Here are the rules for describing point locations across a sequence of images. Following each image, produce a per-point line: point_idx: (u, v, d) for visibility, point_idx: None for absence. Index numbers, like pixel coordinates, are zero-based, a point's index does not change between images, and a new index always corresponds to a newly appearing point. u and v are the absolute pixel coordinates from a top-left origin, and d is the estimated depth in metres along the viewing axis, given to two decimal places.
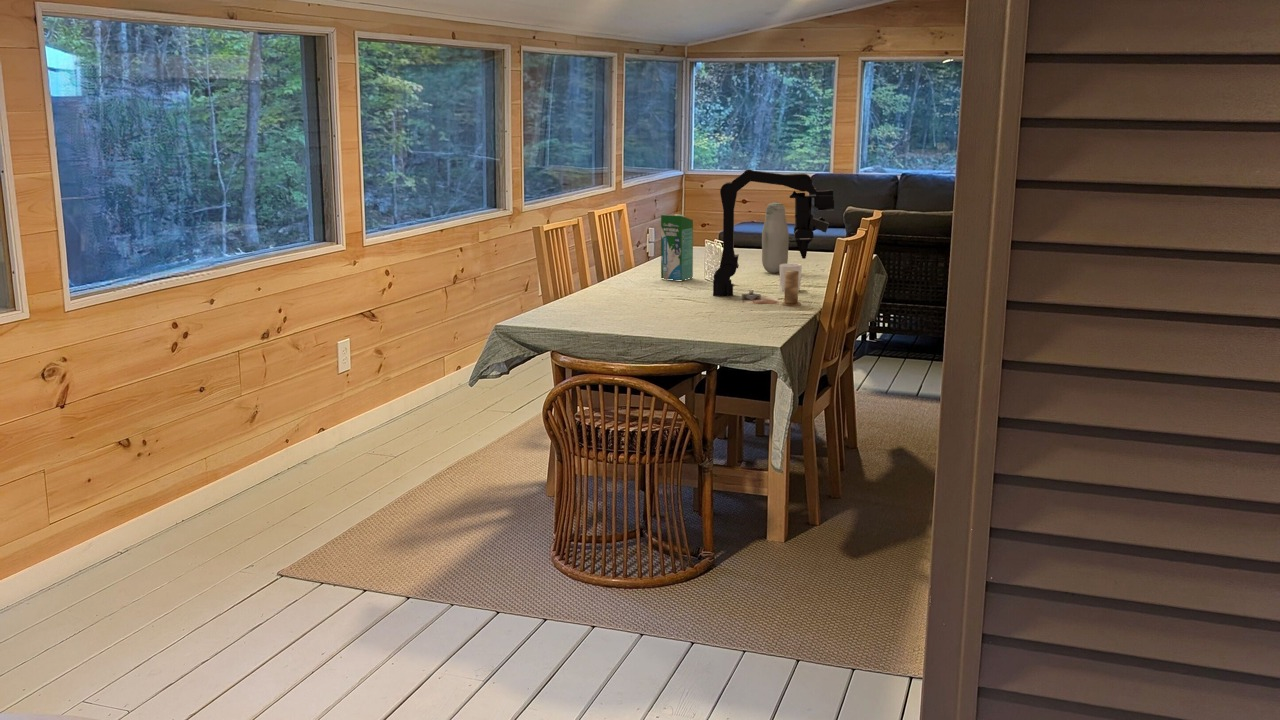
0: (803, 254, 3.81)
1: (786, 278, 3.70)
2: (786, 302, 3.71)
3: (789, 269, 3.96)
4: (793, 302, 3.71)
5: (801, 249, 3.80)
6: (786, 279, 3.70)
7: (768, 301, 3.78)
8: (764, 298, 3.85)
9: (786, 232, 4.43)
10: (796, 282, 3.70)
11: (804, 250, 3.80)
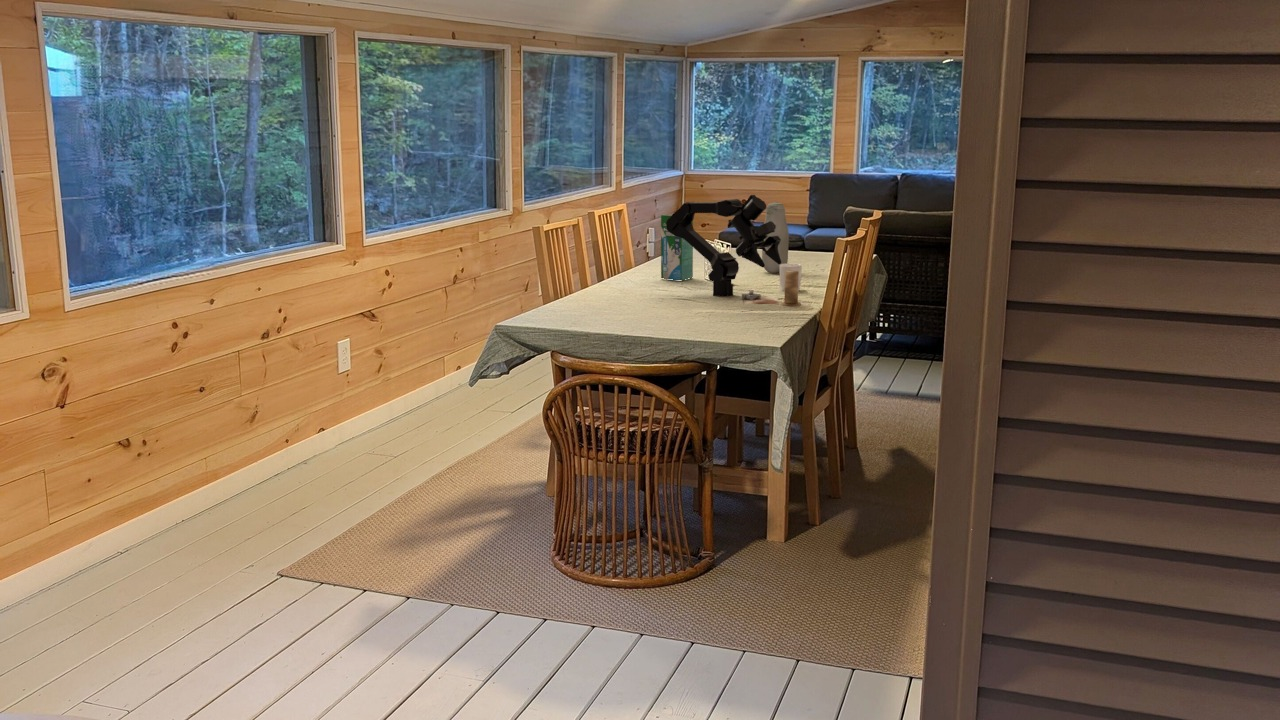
0: (760, 263, 3.72)
1: (786, 278, 3.70)
2: (786, 302, 3.71)
3: (789, 269, 3.96)
4: (793, 302, 3.71)
5: (755, 261, 3.73)
6: (786, 279, 3.70)
7: (768, 301, 3.78)
8: (764, 298, 3.85)
9: (786, 232, 4.43)
10: (796, 282, 3.70)
11: (757, 259, 3.72)
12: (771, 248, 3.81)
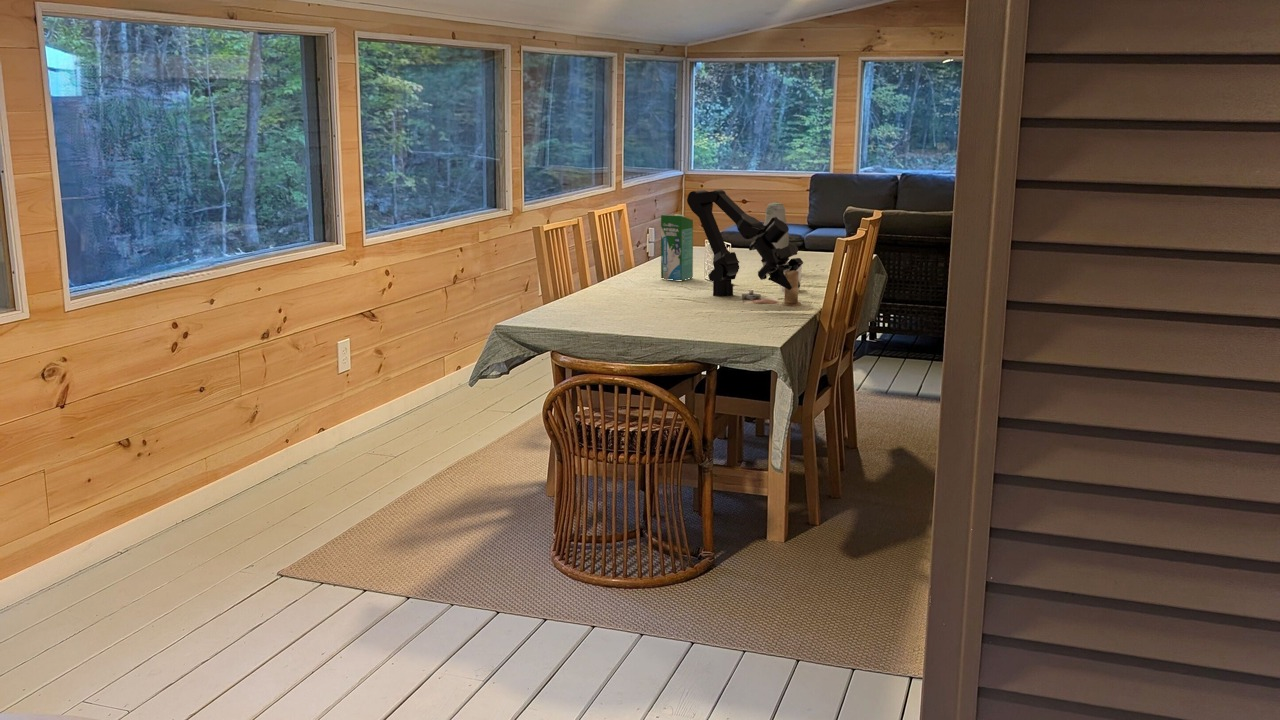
0: (786, 286, 3.69)
1: None
2: (786, 302, 3.71)
3: None
4: (793, 302, 3.71)
5: (781, 284, 3.70)
6: None
7: (768, 301, 3.78)
8: (764, 298, 3.85)
9: None
10: (796, 282, 3.70)
11: (784, 282, 3.69)
12: None
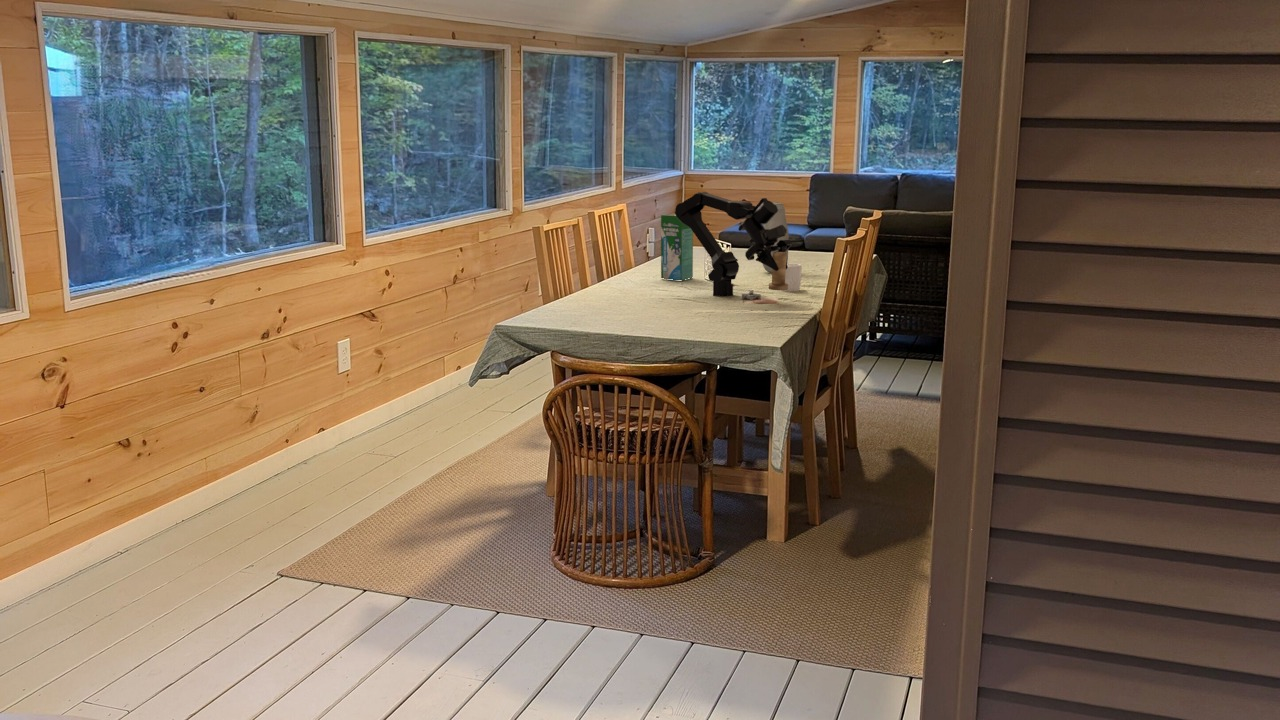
0: (773, 267, 3.71)
1: (774, 259, 3.71)
2: (773, 283, 3.73)
3: (789, 269, 3.96)
4: (780, 283, 3.72)
5: (768, 265, 3.71)
6: (774, 260, 3.71)
7: (768, 301, 3.78)
8: (764, 298, 3.85)
9: (786, 232, 4.43)
10: (783, 263, 3.71)
11: (771, 263, 3.70)
12: None
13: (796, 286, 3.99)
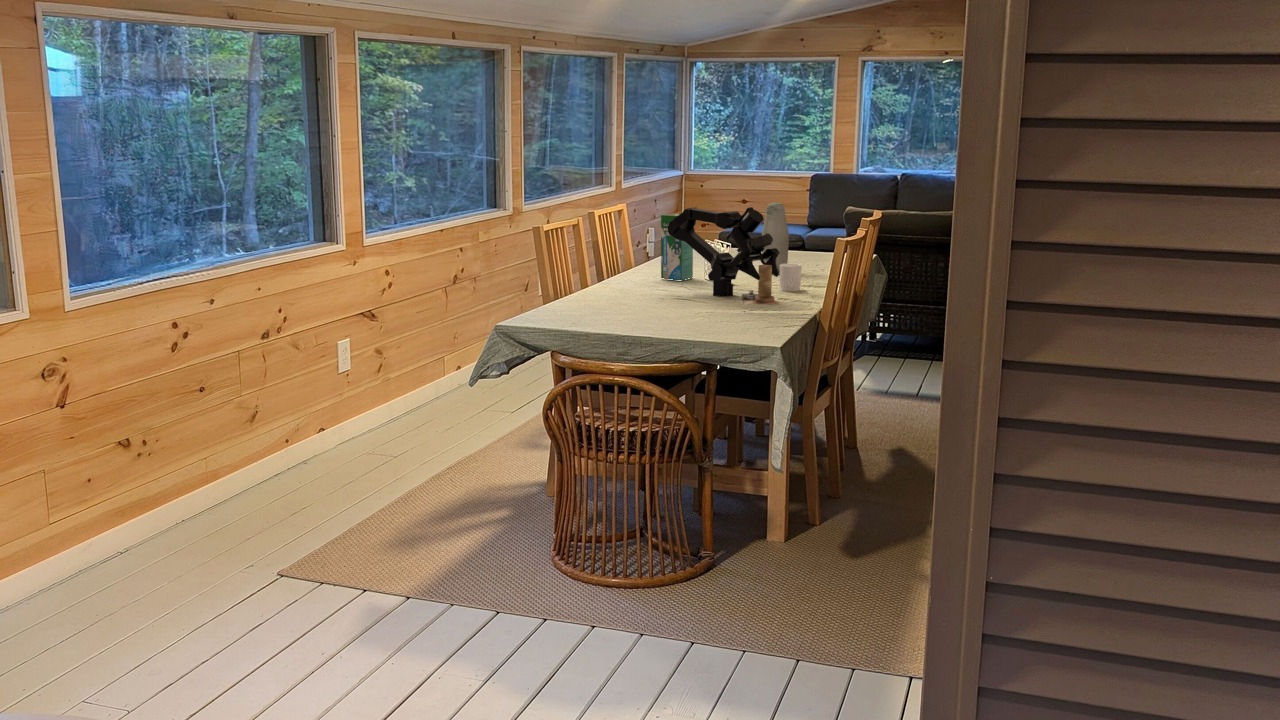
0: (755, 276, 3.72)
1: (759, 272, 3.75)
2: (759, 296, 3.76)
3: (789, 269, 3.96)
4: (766, 296, 3.75)
5: (750, 274, 3.73)
6: (759, 273, 3.75)
7: None
8: None
9: (786, 232, 4.43)
10: (769, 276, 3.74)
11: (752, 272, 3.72)
12: (769, 260, 3.80)
13: (796, 286, 3.99)
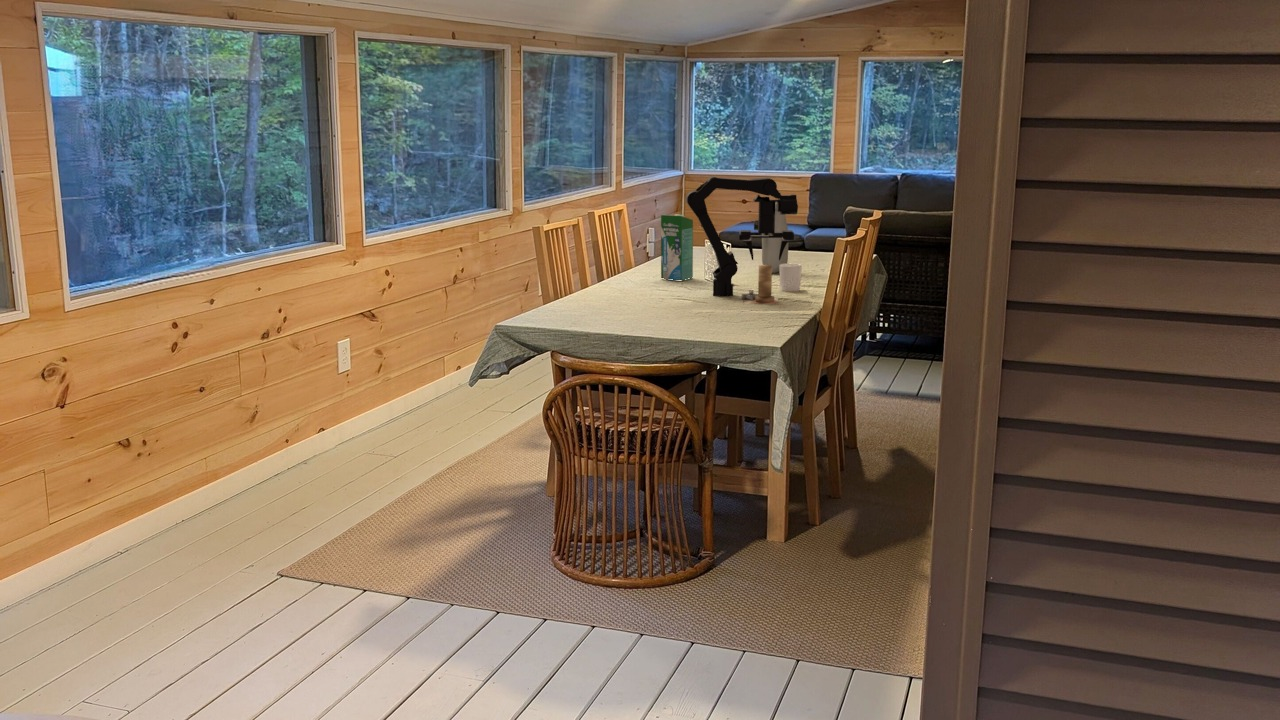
0: None
1: (759, 272, 3.75)
2: (759, 296, 3.76)
3: (789, 269, 3.96)
4: (766, 296, 3.75)
5: (782, 251, 3.88)
6: (759, 273, 3.75)
7: None
8: None
9: None
10: (769, 276, 3.74)
11: None
12: (751, 241, 3.90)
13: (796, 286, 3.99)
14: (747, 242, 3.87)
